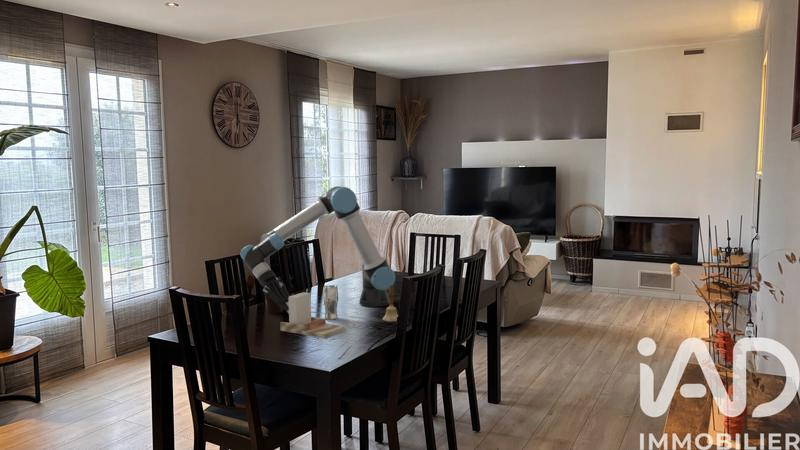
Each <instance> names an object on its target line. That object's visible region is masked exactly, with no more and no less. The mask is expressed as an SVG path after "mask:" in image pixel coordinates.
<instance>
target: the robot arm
mask: <svg viewBox="0 0 800 450" xmlns="http://www.w3.org/2000/svg"><path fill="white" fill-rule="evenodd" d="M360 210H361V207H360V206H359V203H358V199H357V195H356V193H355V192H354V191H353V190H352V189H351V188H349V187H346V186H337V185H336V186H334V187H331V188H330V189H329V190H328V191H325V193H323V194H322V195H320V196H319V197H318V198H317V199H316V201H315V202H314V203H311V204H310V205H309V206H307V207H306V208H304V209H303V210H301V211H300V212H298V213H297V214H295V215H293V216H292V217H290V218H289V219H287V220H286V221H284V222H283V223H281V224H280V225H278V226H276V227H275V228H273V229H272V230H270V231H269V232H266V233H264V234H262V235H261V236H260V238H259V239H260V240H259V243H258V244H257V245H255V246H254V245H253V244H248V245H245V246H244V247H242V248H241V250H240V253H239V255H240V257H241V259H242V261H243V262H244V263H245V265H246V266H247V267H248V269H249V270H250V271H251V273H252V274H253V275H254V276H255V279H257V281H258V282H259V284H260V285H261V286H262V287H263V289H262V293H263V294H264V293H265V294H267V295H268V296H269V297H270V298H271V299H272V300H273V301H274V302H275V303H276V304H277V305H278V306H279V305H281V306H280V307H281V308H282V307H283V309H284V310H285V311H286V312H287V313H288V314H289V297H290V296H291V295H290V293H289V291H288V289H287V287H286V283H285V282H280V281H279V280H278V279H277V276H276V274H275V273H274V271H273V270H272V269H271V267H270V265H269V264H268V263H267V262H266V259H268V258H270V256H272V255H274V254H275V253H277V252H278V251H279V250H281V249H282V248H283V247H284V246H285V241H286V240H288V239H290V238H291V237H293V236H294V235H296V234H298V233H299V232H301V231H302V230H304V229H305V228H306V227H308V226H309V225H311V224H313V223H315V221H317V220H318V219H320V218H322V217H323V216H325V215H329V216H330V214H332V213H333V212H334V214H335V216H336V218H337V219H338V220H339V221H341V222H343V224H344V227H345V228H346V230H347V232H348V235H349V236H350V238H351V240H352V242H353V244H354V246H355V248H356V250H357V252H358V254H359V256H360V258H361V260H362V262H361V263H362V264H361V268H362V271H361V272H362V290H361V294H360V297H359V305H360V306H363V307H369V308H370V307H371V308H373V307H375V308H377V307H379V308H380V307H385V306H387V305H390V298H389V293H388V292H387V290H389V287H390V285H393V286H394V284H395V281H396V274H395V272H394V270H393V269H392V268H391V267H390V265H389V262H388V261H387V259H386V257H384V256H381V254H380V252H379V250H378V248H377V246H376V244H375V242H374V240H373V238H372V235H371V234H370V233H369V230H368V228H367V226H366V224H365V222H364V220H363V218H362V216H361V214H360ZM265 294H264V295H265Z"/></svg>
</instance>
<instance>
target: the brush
mask: <svg viewBox="0 0 800 450" xmlns="http://www.w3.org/2000/svg"><path fill="white" fill-rule="evenodd" d="M394 296H395V288H394V284H393V285H390V287H389V289H388V297H389V306H388V307H386V310H385V315H384V316H383V317H382V319H381V320H382V321H384V322H388V323H389V322H390V323H391V322H392V323H393V322H394V323H395V322H398V321H397V317H398V316H399V314H398V311H397V307H395V306H394Z"/></svg>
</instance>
